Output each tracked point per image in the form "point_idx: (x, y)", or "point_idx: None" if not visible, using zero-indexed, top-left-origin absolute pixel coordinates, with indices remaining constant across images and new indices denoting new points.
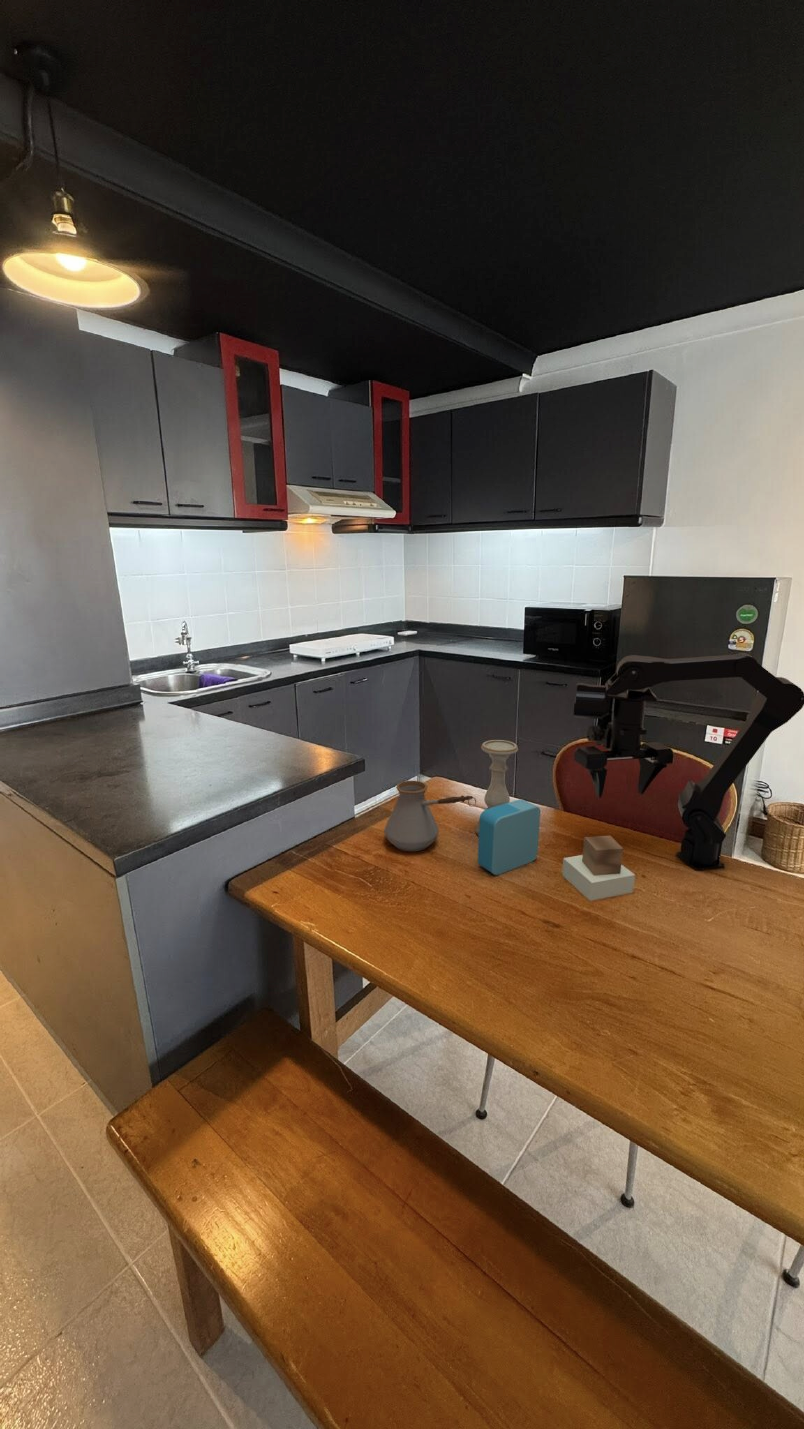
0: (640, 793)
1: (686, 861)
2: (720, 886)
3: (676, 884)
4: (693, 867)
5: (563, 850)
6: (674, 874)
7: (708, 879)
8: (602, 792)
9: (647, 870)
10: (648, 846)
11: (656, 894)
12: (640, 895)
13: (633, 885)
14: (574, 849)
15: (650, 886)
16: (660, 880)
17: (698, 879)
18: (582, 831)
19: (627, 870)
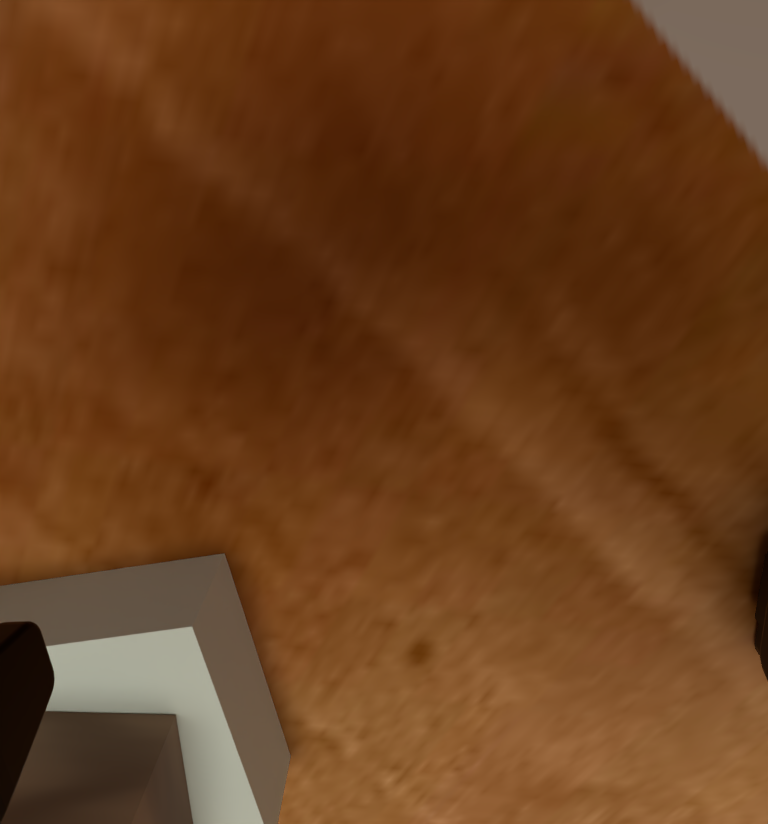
0: (763, 659)
1: (756, 611)
2: (757, 771)
3: (547, 732)
4: (758, 638)
5: (33, 326)
6: (604, 659)
7: (751, 718)
8: (4, 803)
9: (477, 608)
10: (681, 346)
11: (394, 781)
12: (314, 778)
13: (282, 790)
14: (116, 322)
15: (403, 729)
16: (488, 695)
17: (697, 712)
18: (275, 15)
19: (250, 812)
